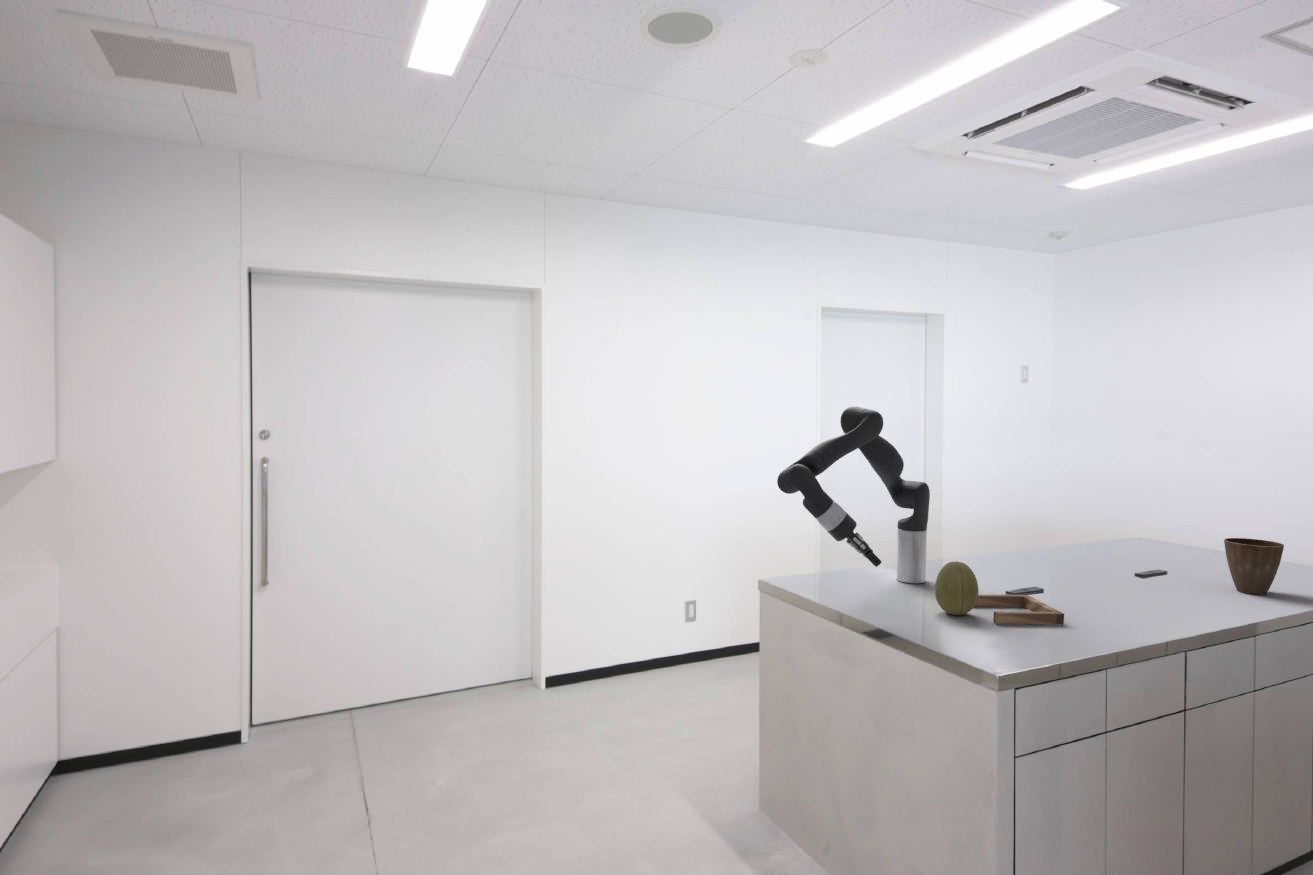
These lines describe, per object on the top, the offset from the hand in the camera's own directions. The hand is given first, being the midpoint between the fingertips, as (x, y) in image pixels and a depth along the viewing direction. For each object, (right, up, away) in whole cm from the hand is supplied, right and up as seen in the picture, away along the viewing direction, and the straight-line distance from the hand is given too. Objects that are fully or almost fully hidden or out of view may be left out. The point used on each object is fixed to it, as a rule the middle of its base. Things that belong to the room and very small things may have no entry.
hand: (878, 563), depth 213 cm
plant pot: (+126, -14, +27) cm, 129 cm away
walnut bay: (+37, -14, +1) cm, 40 cm away
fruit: (+22, -14, +1) cm, 26 cm away
